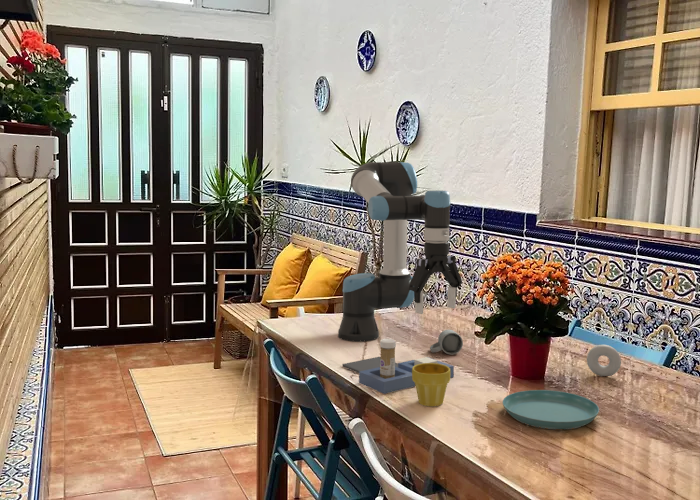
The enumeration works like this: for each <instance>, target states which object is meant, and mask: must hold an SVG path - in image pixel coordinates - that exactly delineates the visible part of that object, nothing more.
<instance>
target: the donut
mask: <svg viewBox="0 0 700 500" xmlns="http://www.w3.org/2000/svg"><path fill="white" fill-rule="evenodd" d="M600 357H607V358H608V360H609V362H608V364H607V365H602V364H600V362H599V358H600ZM586 364H587V367H588V369H589V370H590V371H591V372H592V373H593V374H595V375H596V376H598V375H599V376H598V377H602V376H609V377H611V376H614V375H615V374H616V373H618V371H619V370H620V368H621V364H622V359H621V355H620V353H619V352H618V351H617V350H616V348H614V347H612V346H611V345H608V344H598V345H595V346H593V347H592V348H591V349H590V350H589V351H588V353H587V356H586Z"/></svg>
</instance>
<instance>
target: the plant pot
mask: <svg viewBox="0 0 700 500" xmlns="http://www.w3.org/2000/svg"><path fill="white" fill-rule="evenodd" d="M412 380H413V381H414V382H415V390H416V395H417V400H418V404H420V405H421V406H423V407H432V408H433V407H439V406H441V405H443V403H444V400H445V396H446V391H447V389H448V388H447V387H448V384H449V383H450V381H451V378H450V368H449V367H448V366H446V365H443V364H438V363H422V364H417V365H415V366H413V368H412Z"/></svg>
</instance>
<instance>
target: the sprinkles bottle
mask: <svg viewBox="0 0 700 500" xmlns="http://www.w3.org/2000/svg"><path fill="white" fill-rule="evenodd" d="M396 345H397V343H396V340H395V339H393V338H383V339H380V340H379V346H380V357H381V359H380V377H382V378H384V379H387V378H392V377H395V363H396Z"/></svg>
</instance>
